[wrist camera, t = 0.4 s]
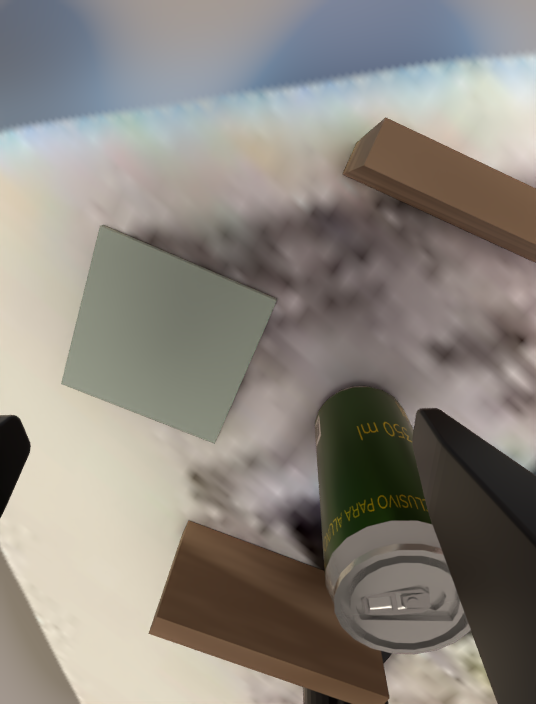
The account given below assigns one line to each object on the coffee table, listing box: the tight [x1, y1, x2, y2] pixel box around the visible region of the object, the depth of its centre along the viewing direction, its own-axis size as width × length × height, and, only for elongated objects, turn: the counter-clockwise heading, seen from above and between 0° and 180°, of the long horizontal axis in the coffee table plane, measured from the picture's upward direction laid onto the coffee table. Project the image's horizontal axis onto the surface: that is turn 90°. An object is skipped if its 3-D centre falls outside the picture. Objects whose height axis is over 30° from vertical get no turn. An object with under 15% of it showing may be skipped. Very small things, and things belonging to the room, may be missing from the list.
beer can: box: [315, 386, 471, 654], centre depth 19 cm, size 5×5×12 cm
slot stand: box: [149, 118, 536, 704], centre depth 22 cm, size 27×14×7 cm, turn 157°
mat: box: [61, 225, 277, 444], centre depth 24 cm, size 10×10×1 cm
